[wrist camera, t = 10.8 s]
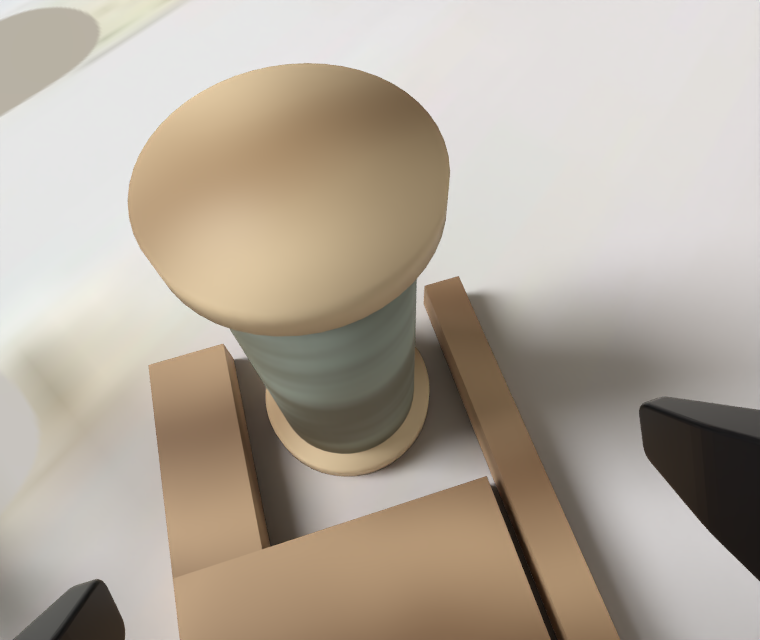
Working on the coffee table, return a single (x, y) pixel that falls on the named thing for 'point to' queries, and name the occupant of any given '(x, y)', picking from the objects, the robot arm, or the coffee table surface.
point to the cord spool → (305, 246)
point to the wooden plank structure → (368, 524)
